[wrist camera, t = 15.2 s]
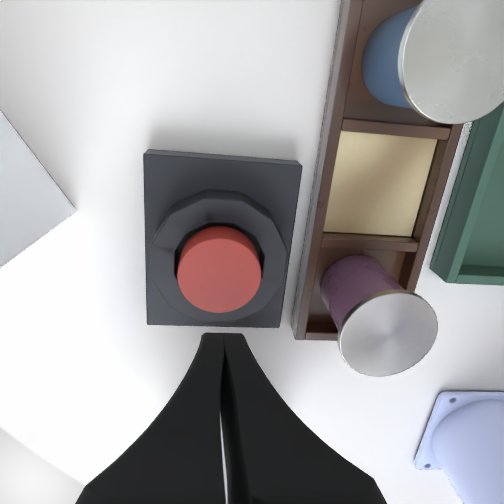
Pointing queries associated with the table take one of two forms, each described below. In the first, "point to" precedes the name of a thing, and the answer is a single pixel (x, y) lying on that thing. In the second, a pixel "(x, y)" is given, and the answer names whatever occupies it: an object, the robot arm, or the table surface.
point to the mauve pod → (376, 317)
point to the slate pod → (439, 59)
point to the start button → (219, 269)
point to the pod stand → (369, 175)
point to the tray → (476, 210)
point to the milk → (25, 196)
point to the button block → (217, 214)
